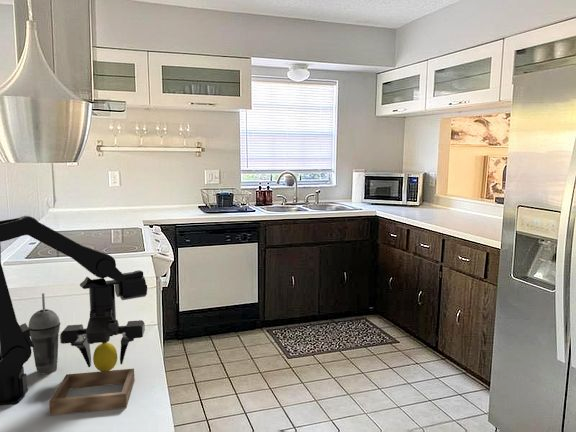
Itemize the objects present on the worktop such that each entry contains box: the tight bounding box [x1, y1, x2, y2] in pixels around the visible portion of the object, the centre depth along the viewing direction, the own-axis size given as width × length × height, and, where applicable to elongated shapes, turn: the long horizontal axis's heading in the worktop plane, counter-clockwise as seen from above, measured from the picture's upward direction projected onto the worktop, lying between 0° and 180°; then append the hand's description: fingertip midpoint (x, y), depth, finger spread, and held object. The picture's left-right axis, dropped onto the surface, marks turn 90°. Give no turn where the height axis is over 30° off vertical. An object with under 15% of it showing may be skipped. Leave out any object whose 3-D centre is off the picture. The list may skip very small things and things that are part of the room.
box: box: [48, 368, 136, 416], centre depth 102 cm, size 15×13×3 cm
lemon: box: [92, 342, 118, 372], centre depth 114 cm, size 6×6×8 cm
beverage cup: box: [27, 293, 61, 375], centre depth 116 cm, size 7×7×20 cm
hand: (105, 365), depth 115 cm, fingers open, 7 cm apart
